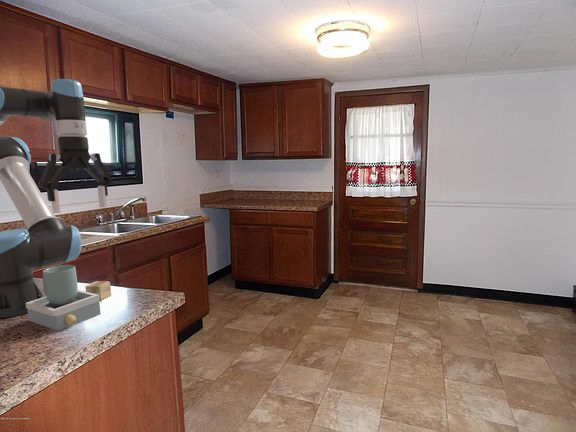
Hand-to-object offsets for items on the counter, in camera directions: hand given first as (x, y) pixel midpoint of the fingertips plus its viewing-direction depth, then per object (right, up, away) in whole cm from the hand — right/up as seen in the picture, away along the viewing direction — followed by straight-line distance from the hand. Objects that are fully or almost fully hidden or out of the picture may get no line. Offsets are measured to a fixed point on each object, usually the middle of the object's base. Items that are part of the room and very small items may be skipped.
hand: (81, 209), depth 113 cm
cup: (-2, -26, -6) cm, 27 cm away
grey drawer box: (-2, -30, -5) cm, 31 cm away
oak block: (+1, -28, +10) cm, 30 cm away
